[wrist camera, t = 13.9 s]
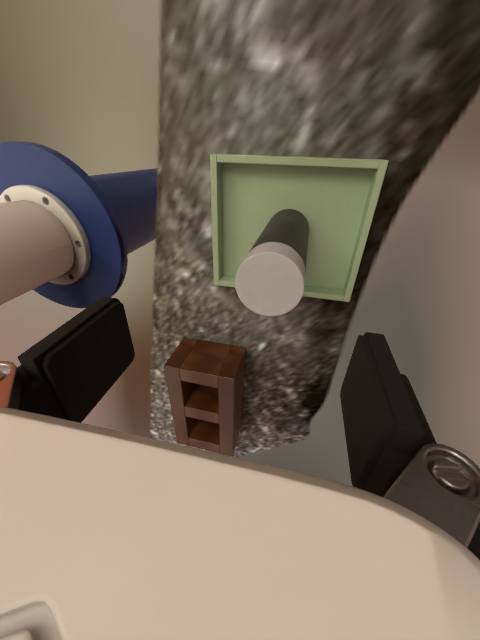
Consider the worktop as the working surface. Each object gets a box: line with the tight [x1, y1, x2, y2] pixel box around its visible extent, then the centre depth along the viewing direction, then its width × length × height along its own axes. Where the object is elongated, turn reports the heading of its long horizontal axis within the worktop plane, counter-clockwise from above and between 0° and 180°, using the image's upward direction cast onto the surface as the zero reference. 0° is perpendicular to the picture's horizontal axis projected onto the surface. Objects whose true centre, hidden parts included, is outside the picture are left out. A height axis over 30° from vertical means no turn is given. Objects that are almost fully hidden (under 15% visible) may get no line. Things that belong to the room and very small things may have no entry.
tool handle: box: [235, 209, 309, 316], centre depth 21 cm, size 4×4×13 cm
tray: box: [210, 154, 389, 302], centre depth 26 cm, size 14×12×2 cm
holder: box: [164, 338, 246, 456], centre depth 38 cm, size 9×16×6 cm, turn 178°
